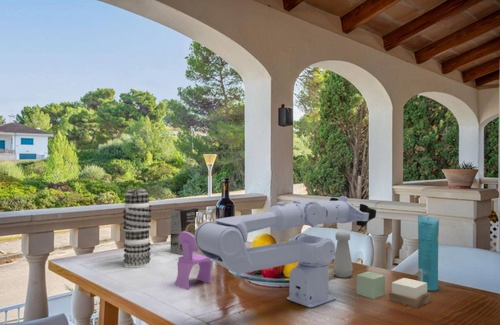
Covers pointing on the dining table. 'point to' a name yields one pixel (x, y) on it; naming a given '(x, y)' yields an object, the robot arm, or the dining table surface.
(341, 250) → the salt shaker
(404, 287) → the cream slab
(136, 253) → the decorative candle
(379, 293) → the sage cube
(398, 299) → the walnut slab
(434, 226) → the tube
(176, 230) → the coffee box
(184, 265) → the toy chair
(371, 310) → the dining table surface
